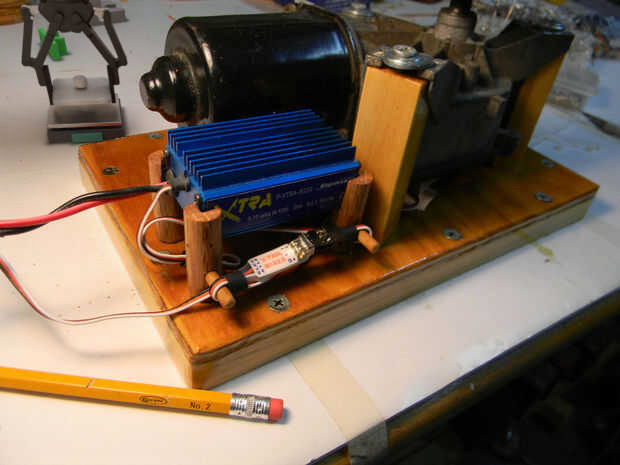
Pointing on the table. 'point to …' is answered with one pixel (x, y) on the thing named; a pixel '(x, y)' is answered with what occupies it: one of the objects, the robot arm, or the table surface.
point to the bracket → (116, 12)
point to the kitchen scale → (86, 133)
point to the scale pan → (84, 115)
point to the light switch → (81, 91)
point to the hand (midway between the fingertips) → (84, 101)
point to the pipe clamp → (55, 45)
